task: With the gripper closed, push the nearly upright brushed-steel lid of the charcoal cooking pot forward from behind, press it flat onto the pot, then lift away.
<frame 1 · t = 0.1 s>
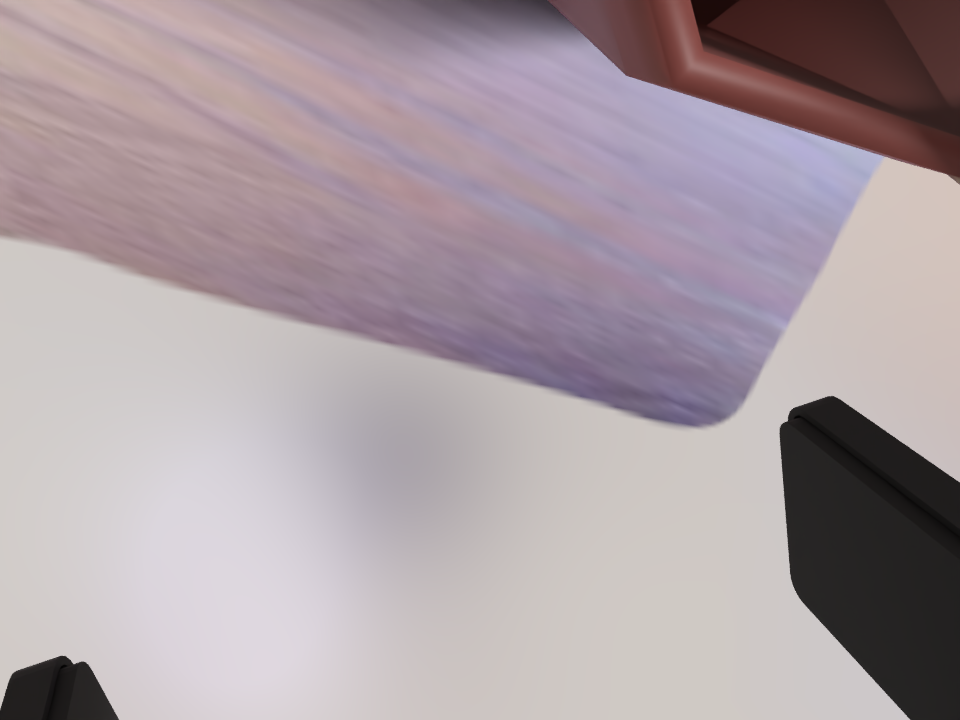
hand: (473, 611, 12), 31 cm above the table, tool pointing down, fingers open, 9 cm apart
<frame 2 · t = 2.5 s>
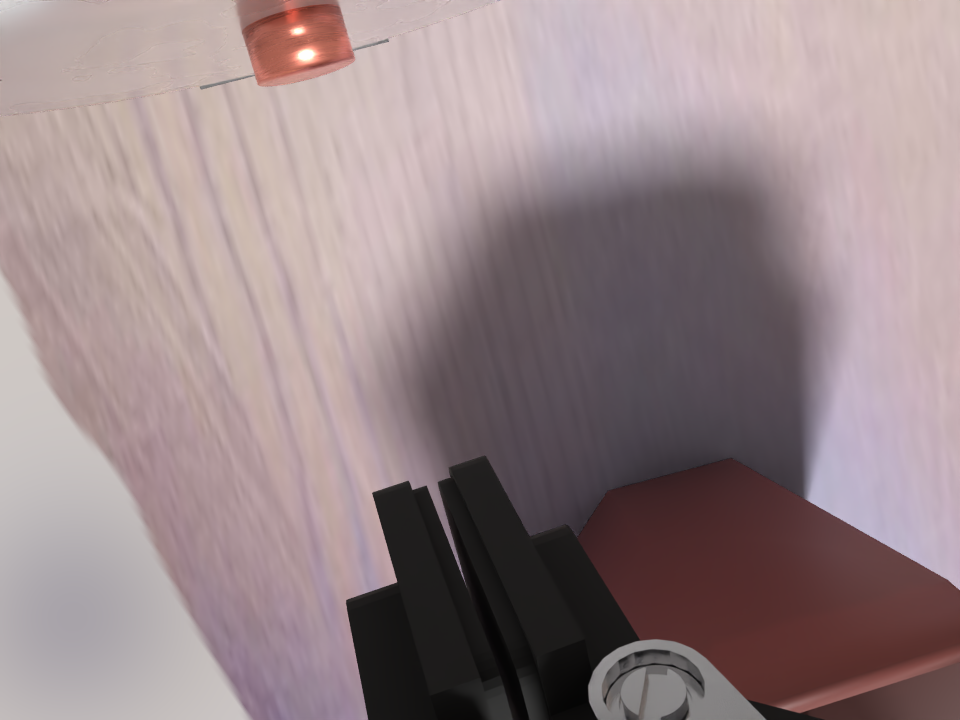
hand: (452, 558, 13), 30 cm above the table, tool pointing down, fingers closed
bucket: (667, 577, 54), on the table
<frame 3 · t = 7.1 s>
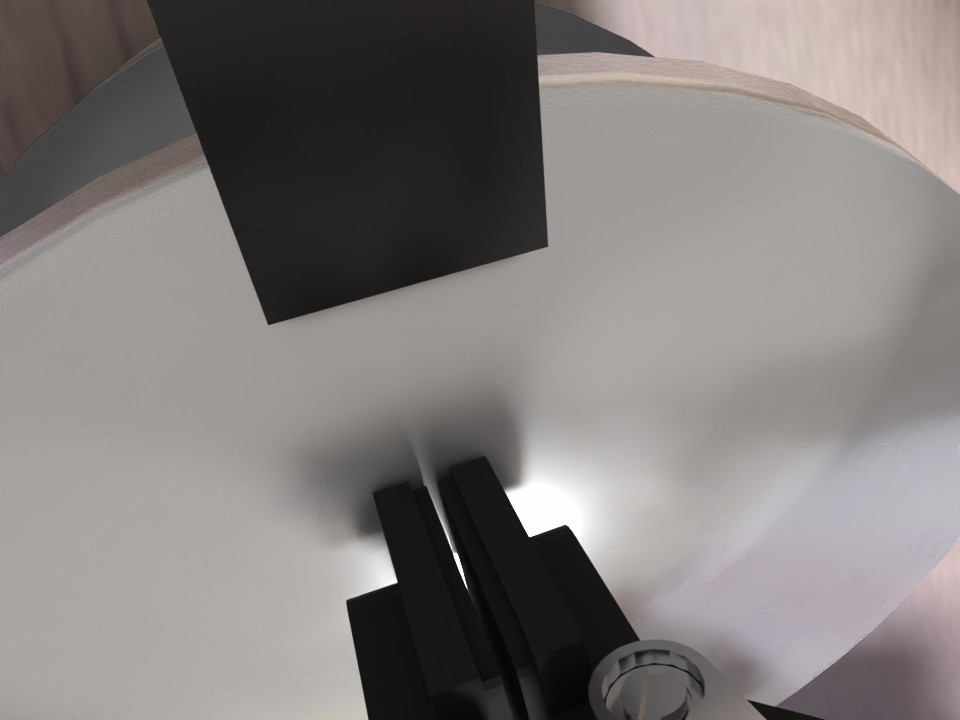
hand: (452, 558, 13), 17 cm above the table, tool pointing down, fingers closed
cooker lid: (470, 587, 14), point 16 cm above the table, hinge at 20.5°, touching gripper
cooker pot: (362, 319, 29), on the table
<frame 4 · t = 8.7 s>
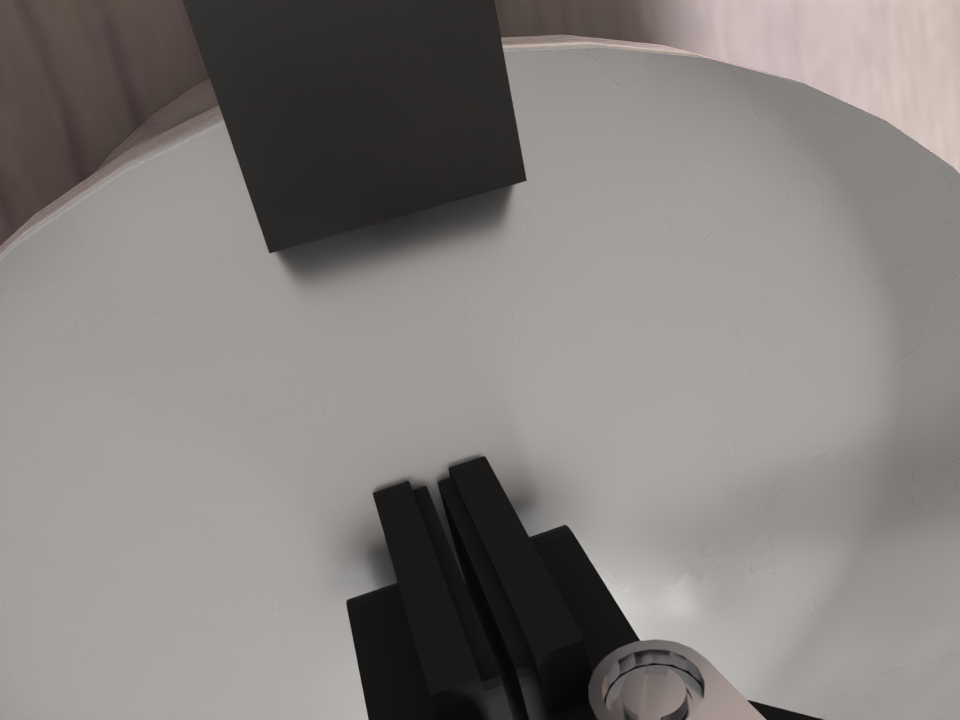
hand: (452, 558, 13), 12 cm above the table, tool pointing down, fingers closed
cooker lid: (502, 622, 14), point 12 cm above the table, hinge at 3.5°, touching gripper
cooker pot: (407, 406, 25), on the table
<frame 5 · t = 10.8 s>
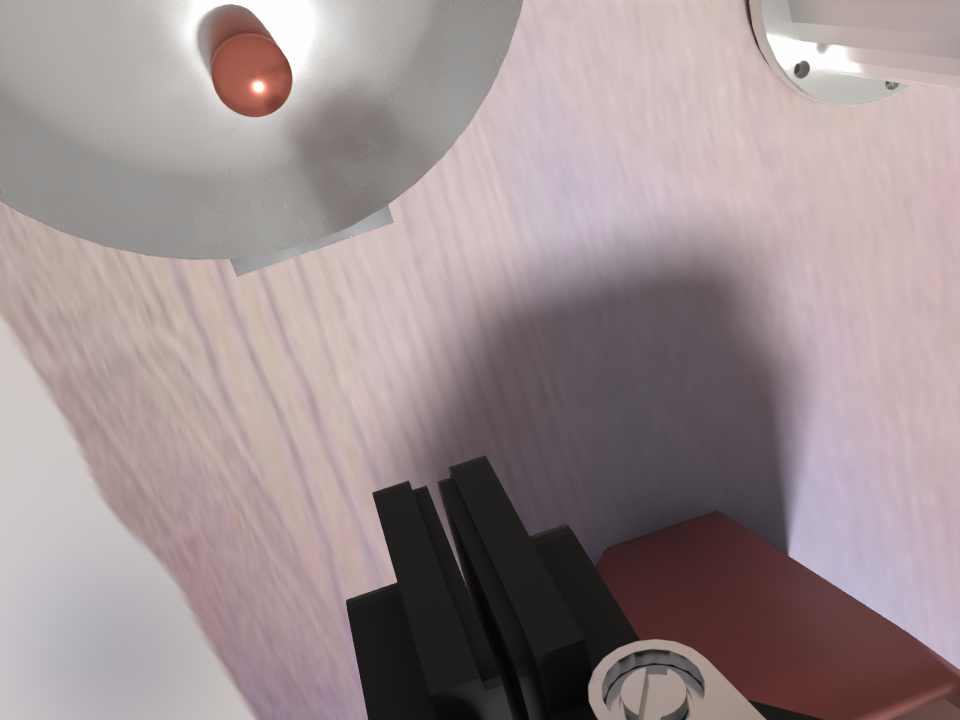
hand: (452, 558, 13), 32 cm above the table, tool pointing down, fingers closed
bucket: (666, 620, 59), on the table
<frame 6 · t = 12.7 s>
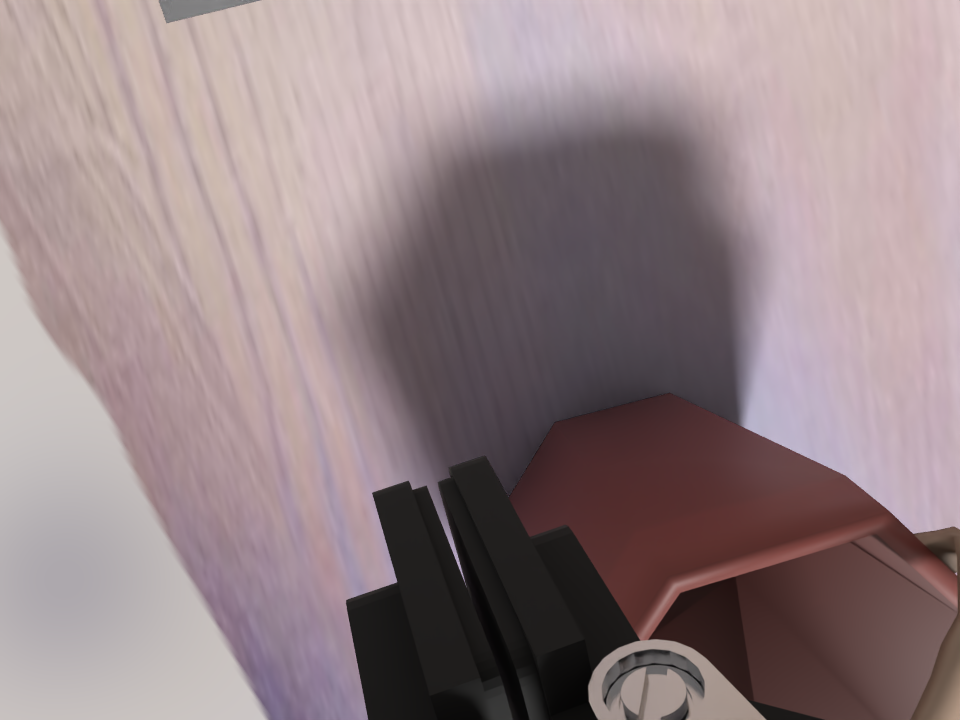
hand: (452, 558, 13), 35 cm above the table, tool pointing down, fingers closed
bucket: (613, 507, 58), on the table
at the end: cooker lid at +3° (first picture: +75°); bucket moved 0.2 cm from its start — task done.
